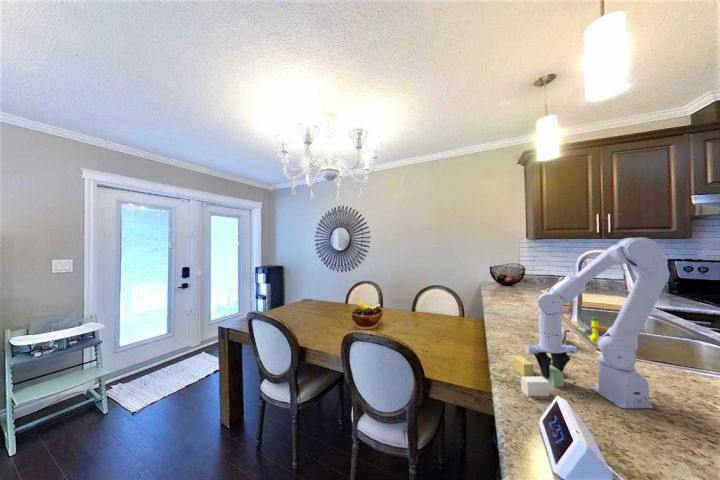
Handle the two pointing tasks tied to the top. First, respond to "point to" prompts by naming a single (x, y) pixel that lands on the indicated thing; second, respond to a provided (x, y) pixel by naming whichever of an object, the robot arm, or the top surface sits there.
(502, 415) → the top surface
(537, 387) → the cream brick
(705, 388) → the top surface
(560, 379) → the green brick
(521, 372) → the mustard brick
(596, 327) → the toy figure
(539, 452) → the top surface
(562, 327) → the bull figurine
